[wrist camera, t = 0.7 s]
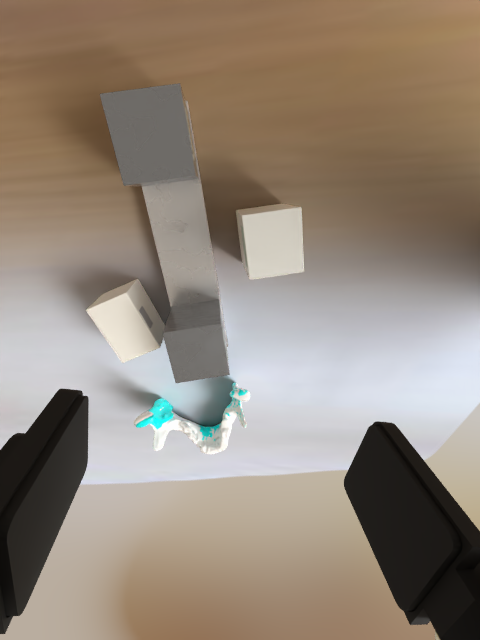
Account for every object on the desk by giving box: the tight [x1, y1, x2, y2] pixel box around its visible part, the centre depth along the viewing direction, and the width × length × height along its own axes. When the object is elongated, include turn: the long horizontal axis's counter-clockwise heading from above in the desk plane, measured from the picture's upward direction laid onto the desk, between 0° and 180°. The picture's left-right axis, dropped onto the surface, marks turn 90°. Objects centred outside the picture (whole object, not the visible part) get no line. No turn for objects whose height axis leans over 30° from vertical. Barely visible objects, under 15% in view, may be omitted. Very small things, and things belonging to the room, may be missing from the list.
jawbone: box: [134, 383, 250, 454], centre depth 34 cm, size 12×8×9 cm, turn 105°
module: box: [236, 203, 304, 280], centre depth 26 cm, size 5×5×6 cm
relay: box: [86, 279, 165, 363], centre depth 29 cm, size 4×6×4 cm
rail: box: [100, 83, 230, 383], centre depth 25 cm, size 5×22×8 cm, turn 7°
